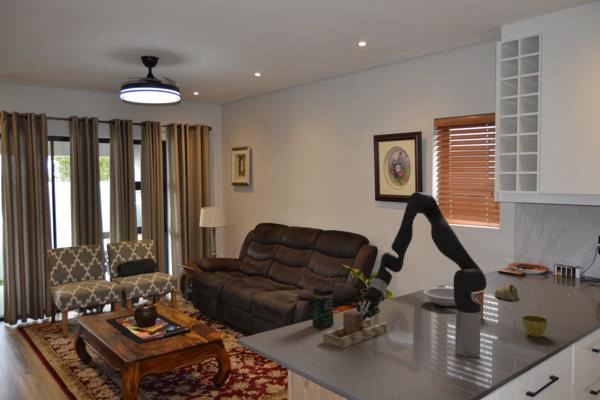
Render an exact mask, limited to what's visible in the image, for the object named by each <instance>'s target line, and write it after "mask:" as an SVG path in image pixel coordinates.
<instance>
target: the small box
mask: <svg viewBox="0 0 600 400" xmlns="http://www.w3.org/2000/svg"><path fill="white" fill-rule="evenodd" d="M484 291H485V290H483V291H480V292H473V293H471V297H472V300H474V301H477V302H479V303H480V305H481V318H483V317H484V300H485V299H484V293H485V292H484Z"/></svg>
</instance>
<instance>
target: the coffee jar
mask: <svg viewBox="0 0 600 400" xmlns="http://www.w3.org/2000/svg"><path fill="white" fill-rule="evenodd" d="M312 291H313V292H312V297H313V311H312V312H313V313H312V326H314V327H315V328H319V329H322V328H329V327H332V326H334V320H335V319H334V309H333V299H334V295H335V293H334V292H335V290H334V287H333V286H331V285H329V284H328V285H327V284H325V285H321V286H315V287H314V288H313V290H312Z"/></svg>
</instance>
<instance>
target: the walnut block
mask: <svg viewBox="0 0 600 400" xmlns="http://www.w3.org/2000/svg"><path fill="white" fill-rule="evenodd" d="M342 320H343V324H342V325H343V326H342V327H343V335H345V336H347V335H350V334H352V333H355V332H358V331H361V330H363V313H362V312H358V311H357V310H356V309H355V310H353V309H351V310H348V311H345V312H343V319H342Z"/></svg>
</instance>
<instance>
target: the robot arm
mask: <svg viewBox="0 0 600 400" xmlns="http://www.w3.org/2000/svg"><path fill="white" fill-rule="evenodd" d="M418 214H422V215H423V216H425V217H426V219H427V221H428V222H429V224H430V226H431V227H430V234H431V235H430V236H431V239H432V241H433V243H434V245H435V246H436V248H437V250H438V251H439V252H440V253H441V254H442V255H443V256H445V257H446V258H448V259H449V260H451V261H452V262H453V263H455V264H456V265H457V266H458V268H459V269H458V270H457V271H456V272H455V273H454V275H453V283H452V284H453V289H454V301H455V304H456V306H455V329H454V330H455V332H454V335H455V337H454V338H455V340H454V342H455V343H454V352H455V354H457V355H459V356H461V357H463V358H480V355H481V321H482V320H481V319H482V317H481V305H480V303H479V302H477V301H474V300H472V297H471V293H473V292H480V291H485V289H486V287H487V279H486V276H485V274H484V272H483V270H482V269H481V268H480V267H479V265H478V264H477V263H476V261H474V259H473V258H472V256H471V255H470V254H469V253H468V251H467V250H466V249H465V247H464V246H463V244H462V243H461V241H460V240H459V237H458V236H457V234H456V232H455V231H454V230H453V228H452V227H451V226H450V224H449V222H448V221H447V219H446V218H445V216H444V215H443V213H442V210H441V209H440V206H439V204H438V202H437V200H436V199H435V197H434V196H433V195H432V194H428V193H424V192H420V191H415V192H413V193H411V194H410V197H409V198H408V201H407V203H406V207H405V209H404V213H403V216H402V220H401V222H400V226H399V229H398V231H397V233H396V236H395V238H394V240H393V242H392V244H391V248H390V249H392V251H394V252H395V254H397V255H395V254H393V253H391V252H389V251H387V252H384V253H383V254H382V255H381V257H380V262H379V267H378V270H377V272H376V275H375V276H374V278H373V279H372V281H371V282H370V284H369V286H368V288H367V290H365V291H366V292H365V293H364V295H363V296H364V297H363V298H362V299H361V301H356V302H355V307H356V309H355V310H356V311H358V312H362V313H363V322H364V320H365V319H368V318H369V319H371V318H372V317H374V316H375V315H377V314H378V313H380V312H381V310H380V308H379V304H380V303H381V301H382V299H383V298H384V295H385V293H386V292H387V290H388V287H389V286H390V283H391V281H392V279H393V275H392V274H391V272H393V273H399V272H401V271H402V270H403V266H404V261H405V257H406V252H407V251H408V248H409V246H410V244H411V242H412V239H413V232H414V231H413V230H414V229H413V227H414V225H413V224H414V220H415V218H416V216H417V215H418ZM387 269H388V270H390V271H391V272H389V271H388V270H387Z"/></svg>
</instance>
